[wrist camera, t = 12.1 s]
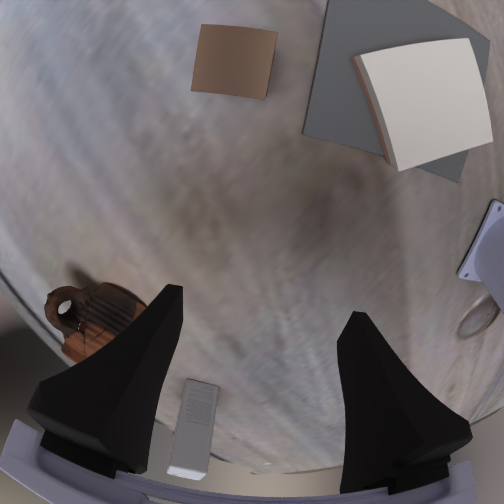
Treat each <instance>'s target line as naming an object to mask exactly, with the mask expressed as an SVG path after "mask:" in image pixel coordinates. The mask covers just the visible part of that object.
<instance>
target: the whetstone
mask: <svg viewBox="0 0 504 504" xmlns="http://www.w3.org/2000/svg"><path fill="white" fill-rule="evenodd" d="M351 61H352V63H353V65H354V68H355V70H356V72H357V75H358V77H359V80H360V82H361V85H362V87H363V90H364V93H365V95H366V98H367V101H368V104H369V106H370V109H371V112H372V115H373V118H374V121H375V124H376V127H377V130H378V134H379V137H380V140H381V143H382V147H383V150H384V154H385V157H386V161H387V163H388V164H390V165H391V166H392V167H393V168H395V169H396V170H397V171H398V172H400V171H403V170H406V169H409V168H412V167H415V166H418V165H421V164H424V163H427V162H430V161H433V160H436V159H439V158H442V157H445V156H448V155H451V154H454V153H457V152H461V151H464V150H467V149H470V148H473V147H476V146H480V145H483V144H486V143H489V142H493V137H492V130H491V123H490V117H489V112H488V106H487V101H486V97H485V92H484V88H483V84H482V80H481V76H480V72H479V69H478V65H477V62H476V59H475V55H474V52H473V49H472V46H471V43H470V41H469V38H460V39H448V40H439V41H431V42H423V43H417V44H410V45H405V46H399V47H394V48H389V49H384V50H379V51H375V52H371V53H367V54H362V55H359V56H355V57H351Z"/></svg>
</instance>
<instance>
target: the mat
mask: <svg viewBox="0 0 504 504" xmlns="http://www.w3.org/2000/svg"><path fill="white" fill-rule="evenodd" d="M460 38H469V41H470V43H471V46H472V49H473V52H474V55H475V59H476V62H477V65H478V69H479V72H480V76H481V80H482V84H483V88H484V83H485V77H486V70H487V63H488V55H489V45H490V40H488V39H487V38H486V37H484V36H483V35H482V34H480V33H479V32H478V31H476V30H475V29H473V28H472V27H470V26H469V25H467V24H466V23H464V22H463V21H461V20H460V19H458V18H457V17H455V16H453V15H452V14H450V13H448V12H447V11H445V10H443V9H442V8H440V7H438V6H436V5H434V4H433V3H431V2H429V1H427V0H328V2H327V8H326V13H325V19H324V25H323V30H322V36H321V41H320V46H319V52H318V57H317V62H316V67H315V72H314V77H313V82H312V87H311V92H310V97H309V102H308V107H307V112H306V117H305V122H304V126H303V131H302V134H303V135H306V136H310V137H315V138H319V139H323V140H328V141H332V142H336V143H340V144H344V145H347V146H351V147H355V148H358V149H362V150H365V151H369V152H372V153H376V154H379V155H382V156H385V154H384V150H383V147H382V143H381V140H380V137H379V134H378V130H377V127H376V124H375V121H374V118H373V115H372V112H371V109H370V106H369V104H368V101H367V98H366V95H365V93H364V90H363V87H362V85H361V82H360V80H359V77H358V75H357V72H356V70H355V68H354V65H353V63H352V61H351V57H355V56H359V55H362V54H367V53H371V52H375V51H379V50H384V49H389V48H394V47H399V46H405V45H410V44H417V43H423V42H431V41H439V40H448V39H460ZM468 150H469V149H467V150H464V151H461V152H457V153H454V154H451V155H448V156H445V157H442V158H439V159H436V160H433V161H430V162H427V163H424V164H421V165H418V166H415V167H418V168H421V169H423V170H426V171H429V172H431V173H434V174H437V175H439V176H442V177H444V178H447V179H449V180H452V181H454V182H456V183H458V180H459V178H460V175H461V172H462V169H463V166H464V163H465V160H466V157H467V153H468Z"/></svg>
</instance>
